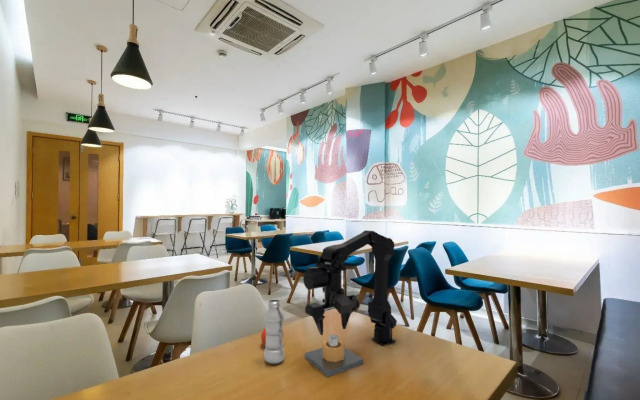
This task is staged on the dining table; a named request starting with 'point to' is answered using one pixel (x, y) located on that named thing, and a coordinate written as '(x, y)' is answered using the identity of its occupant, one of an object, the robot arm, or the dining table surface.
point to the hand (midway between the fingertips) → (333, 331)
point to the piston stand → (329, 366)
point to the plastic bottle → (274, 333)
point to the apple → (263, 336)
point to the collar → (333, 351)
